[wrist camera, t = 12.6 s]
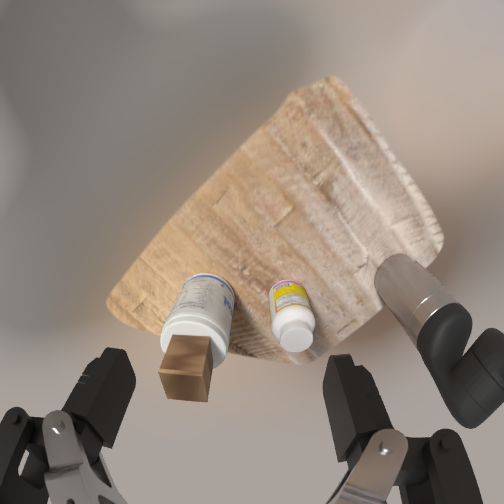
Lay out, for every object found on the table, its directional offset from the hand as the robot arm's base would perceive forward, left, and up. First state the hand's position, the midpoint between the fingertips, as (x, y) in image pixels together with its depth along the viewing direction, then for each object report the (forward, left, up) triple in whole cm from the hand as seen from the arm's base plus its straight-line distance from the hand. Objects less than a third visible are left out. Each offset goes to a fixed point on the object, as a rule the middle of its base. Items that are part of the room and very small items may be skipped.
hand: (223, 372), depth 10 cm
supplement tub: (+7, +17, -34) cm, 39 cm away
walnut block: (+7, +17, -19) cm, 27 cm away
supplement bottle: (-7, +17, -34) cm, 39 cm away
